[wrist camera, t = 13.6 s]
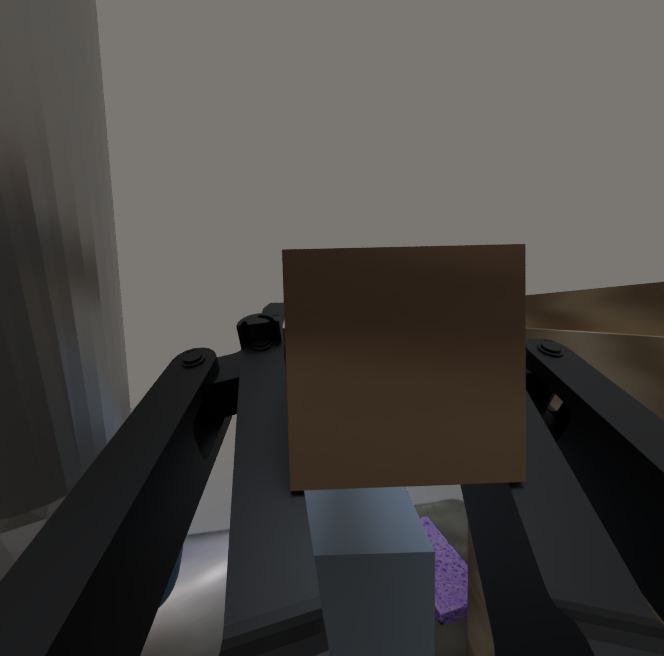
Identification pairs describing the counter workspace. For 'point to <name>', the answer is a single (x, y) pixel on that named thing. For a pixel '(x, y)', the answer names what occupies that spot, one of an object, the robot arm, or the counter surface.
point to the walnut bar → (405, 366)
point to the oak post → (605, 356)
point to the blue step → (373, 572)
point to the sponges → (447, 577)
